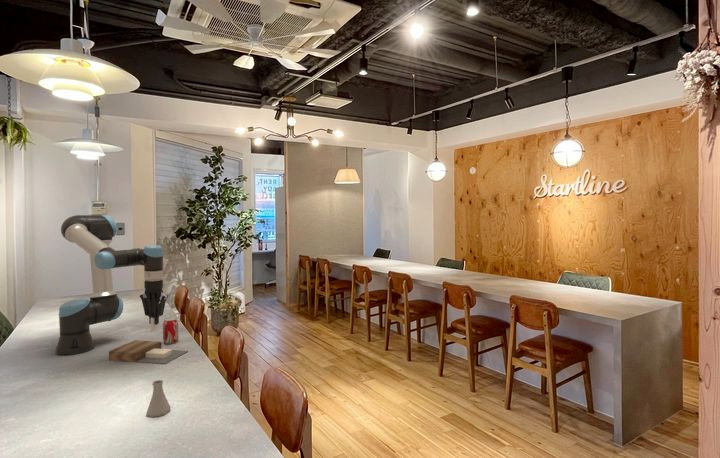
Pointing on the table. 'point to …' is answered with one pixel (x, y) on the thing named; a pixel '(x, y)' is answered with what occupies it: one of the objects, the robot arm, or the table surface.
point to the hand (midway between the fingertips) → (154, 331)
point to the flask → (158, 401)
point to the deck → (133, 350)
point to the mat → (165, 360)
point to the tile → (158, 353)
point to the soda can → (170, 330)
